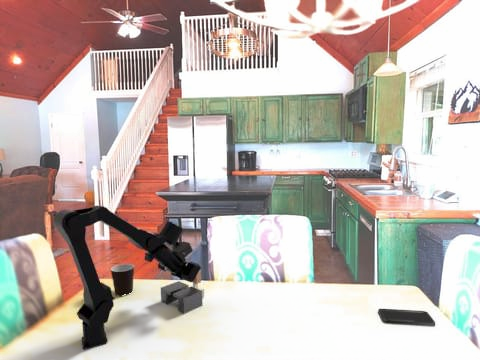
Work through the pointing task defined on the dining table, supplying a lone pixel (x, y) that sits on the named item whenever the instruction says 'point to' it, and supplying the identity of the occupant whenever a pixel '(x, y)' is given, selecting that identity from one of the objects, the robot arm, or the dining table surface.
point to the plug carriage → (198, 280)
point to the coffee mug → (123, 278)
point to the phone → (406, 317)
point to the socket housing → (182, 296)
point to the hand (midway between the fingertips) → (192, 278)
